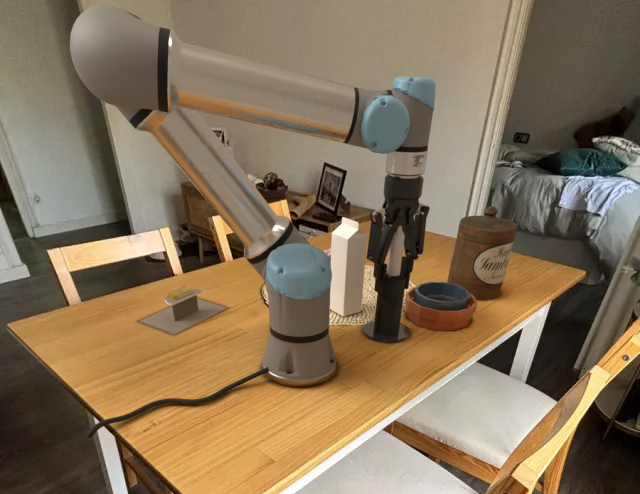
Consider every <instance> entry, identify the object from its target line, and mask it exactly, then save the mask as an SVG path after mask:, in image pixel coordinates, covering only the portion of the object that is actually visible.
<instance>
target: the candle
mask: <svg viewBox="0 0 640 494" xmlns="http://www.w3.org/2000/svg"><path fill="white" fill-rule="evenodd" d="M404 238H405V235H404V233H403V231H402V225H401V226H399V227H398V229H397V231H396V232H395V233H394V236H393V239H392V242H391V245H390V248H389V250H388V254H387V256H388V257H387V263H386V264H387V272H386V282H385V291H384V294H383V295H381V294H379V293H378V292H376V293H377V294H376V304H375V314H374V320H375V322H374V331H375V332H380V333H383V334H386V335H394V334H395V333H396V332H397V331H398V330H399V327H400V323H401V321H402V320H401V318H402V310H403V304H404V299H405V298H404V297H405V290H406V289H405V283H406V276H405V275H404V274H403V273H402V272H400V269H401V261H402V257H403V252H404Z"/></svg>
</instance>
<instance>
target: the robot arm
mask: <svg viewBox="0 0 640 494" xmlns="http://www.w3.org/2000/svg"><path fill="white" fill-rule="evenodd" d="M70 31H71V32H70V35H69V36H70V37H69V38H70V39H69V51H70V56H71V62H72V63H73V66H74V69H75V72H76V74H77V75H78V77H79V79H80V80H81V82H82V83H83V84H84V86H85V87H86V89H88V90H89V91H90V93H91V94H92V95H93V96H95V97H96V98H98V100H100V101H102V102H103V103H106V104H108V105H111V106H113V107H116V109H117V110H118V111H119V112H120V113H121V114H122V115H123V117H124V118H125V119H126V120H127V122H128V123H129V124H130V125H131V126H132V127H133V129H134V130H135V131H138V132H144V133H148V134H150V135H151V136H152V137H153V138H154V139H155V141H156V142H157V143H158V144H159V145H160V147H161V148H162V149H163V150H164V151H165V152H166V153H167V155H168V156H169V157H170V158H171V160H172V161H173V162H174V163H175V164H176V165H177V167H178V168H179V169H180V171H181V172H182V173H183V175H185V176H186V177H187V179H188V180H189V181H190V182H191V183H192V184H193V186H194V187H195V188H196V189H197V191H198V192H199V193H200V194H201V195H202V197H203V198H204V199H205V200H206V201H207V202H208V204H209V205H210V206H211V207H212V209H214V211H215V212H216V213H217V215H219V217H220V218H221V219H222V220H223V221H224V222H225V224H226V225H227V226H228V228H229V229H230V230H231V231H232V232H233V233H234V235H235V236H236V237H237V238H238V239H239V240H240V242H241V243H242V244H243V257H244V258H245V259H246V260H247V262H248V263H249V264H250V265H251V267H253V269H254V270H255V271H256V272H257V273H258V275H259V276H260V277H261V278H262V280H263V281H264V285H265V289H266V293H267V300H268V322H269V335H268V338H267V341H266V345H265V349H264V352H263V355H262V360H261V364H262V365H261V367H262V369H260V370H257V371H255V372H253V373H251V374H249V375H247V376H244V377H243V378H240V379H238V380H236V381H234V382H232V383H230V384H228V385H226V386H224V387H222V388H221V389H219V390H217V391H215V392H214V393H212V394H210V395H207V396H205V397H200V398H178V397H177V398H175V397H170V398H169V397H168V398H162V399H158V400H154V401H152V402H148V403H147V404H144V405H143V406H140V407H139V408H137V409H135V410H133V411H130V412H128V413H125V414H122V415H119V416H115V417H110V418H106V419H103V420H101V421H99V422H97V423H96V424H94V425H93V426H92V427H91V428H90V429H89V430H88V432H87V433H86V435H85V438H86V439H90V438H92V437H93V436H94V435H95V434H96V432H98V431H99V430H100V429H101V428H103V427H105V426H108V425H113V424H116V423H120V422H125V421H128V420H129V419H133V418H134V417H138V416H139V415H140V414H143V413H144V412H146V411H148V410H150V409H152V408H153V409H154V408H155V407H159V406H163V405H167V404H168V405H169V404H181V405H200V404H204V403H208V402H211V401H213V400H215V399H217V398H220V397H221V396H223V395H224V394H225V393H227V392H229V391H231V390H233V389H235V388H237V387H239V386H241V385H243V384H245V383H247V382H249V381H252V380H254V379H256V378H258V377H261V376H263V375H265V377H267V378H268V379H269V380H271V381H272V382H274V383H276V384H279V385H283V386H288V387H295V388H296V387H297V388H303V387H305V388H306V387H312V386H316V385H320V384H323V383H326V382H327V381H328V380H331V378H332V377H333V376H334V375H335V374H336V371H337V361H338V360H337V357H336V354H335V353H336V352H335V349H334V346H333V344H332V340H331V337H330V313H331V309H330V290H331V281H332V270H331V258H330V257H329V256H328V254H326V253H325V252H324V250H323V249H322V248H319V247H316V246H315V245H311V243H310V242H309V241H308V239H307V238H306V237H305V236H303V235H302V234H301V233H300V231H299V230H298V229H297V227H296V225H294V223H293V222H292V221H291V219H290V218H289V217H288V216H285V215H278V214H276V212H275V211H274V209H272V207H271V205H270V204H269V203H268V201H267V200H266V199H265V198H264V196H263V195H262V193H260V191H259V190H258V189H257V187H256V186H255V185H254V183H253V182H252V180H251V179H250V178H249V176H248V175H247V173H246V172H245V171H244V170H243V169H242V167H241V166H240V165H239V163H238V162H237V161H236V160H235V158H234V157H233V155H232V154H231V152H229V150H228V149H227V148H226V146H225V144H224V143H223V142H222V141H221V139H220V138H219V136H217V134H216V133H215V132H214V130H213V129H212V128H211V126H210V125H209V124H208V122H207V120H205V118H204V117H203V116H202V114H201V113H205V114H210V115H214V116H218V117H223V118H228V119H233V120H237V121H240V122H246V123H250V124H256V125H260V126H264V127H269V128H274V129H278V130H283V131H288V132H291V133H295V134H296V133H297V134H300V135H305V136H311V137H315V138H320V139H323V140H327V141H332V142H337V143H342V144H346V145H349V146H354V147H358V148H363V149H366V150H368V151H370V152H372V153H374V154H381V155H386V161H385V162H386V163H385V170H384V171H385V172H386V173H387V174H386V175H385V176H384V183H383V184H384V185H383V197H384V201H383V204H382V205H381V208H379V209H377V210H374V209H371V210H370V211H369V216H370V217H369V218H370V229H369V236H368V242H367V250H366V260H368V261H369V262H371V263H373V264H374V265H373V274H372V276H373V278H374V288H373V291H374V292H375V293H379V294H381V295H383V294H384V291H385V282H386V272H387V264H388V263H386V259H387V256H388V254H389V248H390V245H391V242H392V239H393V236H394V233H395V232H396V231H397V229H398V227H399V226H401V225H402V231H403V233H404V235H405V238H404V246H403V251H404V255H402V261H401V269H400V272H402V273H403V274H404V275H405V276H406V283H405V290H409V286H410V278H411V274H412V273H413V271H414V264H415V261H417V260H418V259H419V255H422V254H423V253H424V245H425V238H426V226H427V218H428V216H429V212H430V210H431V208H430V206H429V205H426V204H423V203H420V198H421V197H422V195H423V194H422V193H423V186H424V177H423V176H422V175H423V174H425V171H426V163H427V157H428V150H429V141H430V136H431V128H432V123H433V116H434V111H435V102H436V81H435V80H434V79H433V78H432V77H430V76H428V77H427V76H409V75H407V76H403V75H402V76H399V75H398V76H396V77H395V78H394V79H393V80H394V81H393V85H392V88H391V89H385V90H382V89H364V88H362V87H361V88H360V87H355V86H353V85H349V84H345V83H341V82H338V81H334V80H330V79H327V78H322V77H318V76H314V75H311V74H306V73H303V72H299V71H296V70H292V69H289V68H284V67H280V66H275V65H273V64H268V63H265V62H261V61H258V60H257V61H256V60H253V59H249V58H245V57H242V56H238V55H234V54H230V53H226V52H222V51H218V50H214V49H210V48H207V47H203V46H199V45H195V44H191V43H187V42H184V41H182V40H180V38H179V37H178V35H177V34H176V32H175V31H174V29H169V28H167V27H161V26H159V25H156V24H153V23H150V22H148V21H144V20H143V19H142V18H140V17H139V16H137V15H136V14H135V13H133V12H130V11H127V10H124V9H122V8H120V7H118V6H115V5H110V4H99V5H92V6H90V7H88V8H86V9H85V10H84V11H83V12H81V13H80V14H79V16H78V17H76V19H75V22H74V23H73V25H72V28H71V30H70Z"/></svg>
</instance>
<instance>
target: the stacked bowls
mask: <svg viewBox="0 0 640 494" xmlns="http://www.w3.org/2000/svg"><path fill="white" fill-rule="evenodd" d="M404 304H405V307H406V309H405V314H406V316H407V319H408V321H411V322H412V323H414V324H416V325H417V326H419V327H423V328H427V329H431V330H435V331H455V330H459V329H463V328H465V327H467V326H468V324H469V323H470V322H471V321H472V318H473V316H474V314H475V312H476V311H477V305H478V299H475V297H474V296H473V295H472V294H470V293H469V292H468V290H467V289H465V288H463V287H461V286H459V285H456V284H451V283H447V282H446V281H427V282H421V283H419V284H418V285H417V286H414V287H413V286H412V287H411V288H410V289H408V291H407V292H406V293H405V298H404Z"/></svg>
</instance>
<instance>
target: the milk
mask: <svg viewBox="0 0 640 494" xmlns="http://www.w3.org/2000/svg"><path fill="white" fill-rule="evenodd" d="M359 227H360V223H359V222H358V221H357V220H356V221H355V220H353V219H351V218H348V217H345V216H342V218H341V223H340V225H338V227H336V228H335V229H334V230H333V231H332V232H331V241H330V242H331V243H330V246H331V247H330V248H331V258H330V262H331V270H332V281H331V290H330V311H333V312H334V313H336V314H338V315H340V316H341V317H343V318H344V317H347V316H351V315H353V314H357V313H360V312H362V305H363V293H364V292H363V291H364V281H365V268H366V259H367V247H368V234H366V233H365V232H363V231H362V230H360V229H359Z"/></svg>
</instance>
